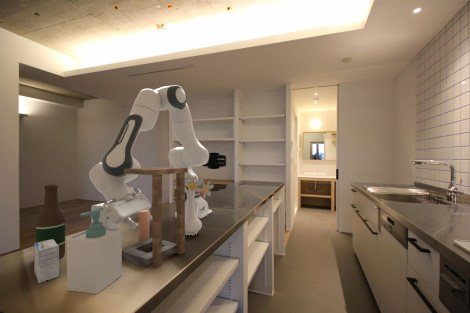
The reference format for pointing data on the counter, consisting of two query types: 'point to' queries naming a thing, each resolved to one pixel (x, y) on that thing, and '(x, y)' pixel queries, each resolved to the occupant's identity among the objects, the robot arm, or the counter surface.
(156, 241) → the brown wooden tall frame
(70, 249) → the soap bottle
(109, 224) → the supplement box
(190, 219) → the flower vase
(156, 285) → the counter surface
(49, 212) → the beer bottle
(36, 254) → the medicine box
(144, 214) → the peg
